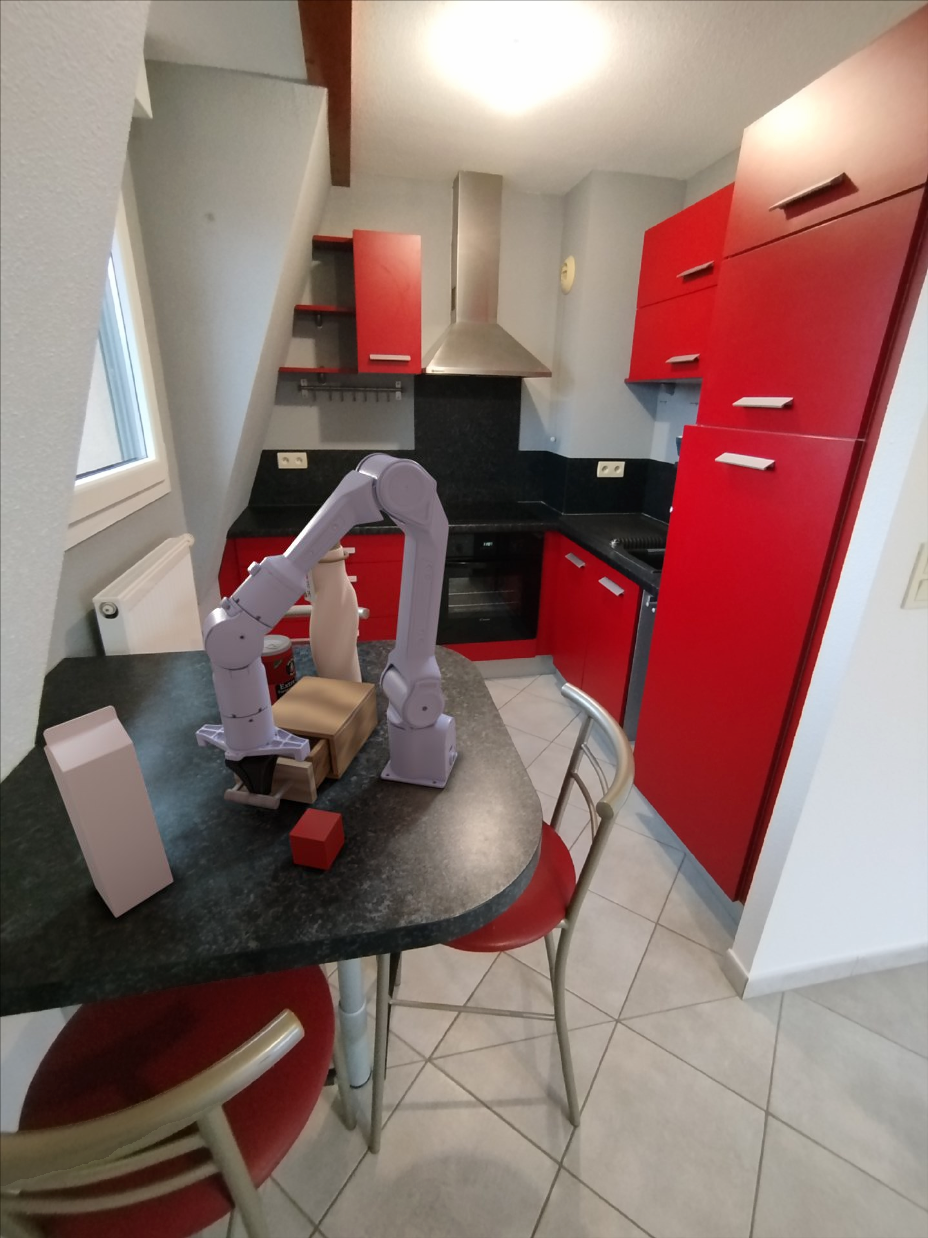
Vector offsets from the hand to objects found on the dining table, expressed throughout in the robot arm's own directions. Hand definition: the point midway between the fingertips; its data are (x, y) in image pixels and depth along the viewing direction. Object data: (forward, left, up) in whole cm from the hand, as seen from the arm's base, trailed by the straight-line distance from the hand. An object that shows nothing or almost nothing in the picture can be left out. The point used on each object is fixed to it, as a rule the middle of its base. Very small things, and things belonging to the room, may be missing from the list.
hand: (262, 796), depth 68 cm
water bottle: (+6, -34, -3) cm, 34 cm away
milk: (+8, +13, -3) cm, 16 cm away
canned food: (+15, -27, -3) cm, 31 cm away
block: (-10, +4, -3) cm, 11 cm away
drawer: (0, -6, -2) cm, 7 cm away
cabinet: (0, -16, -3) cm, 16 cm away
